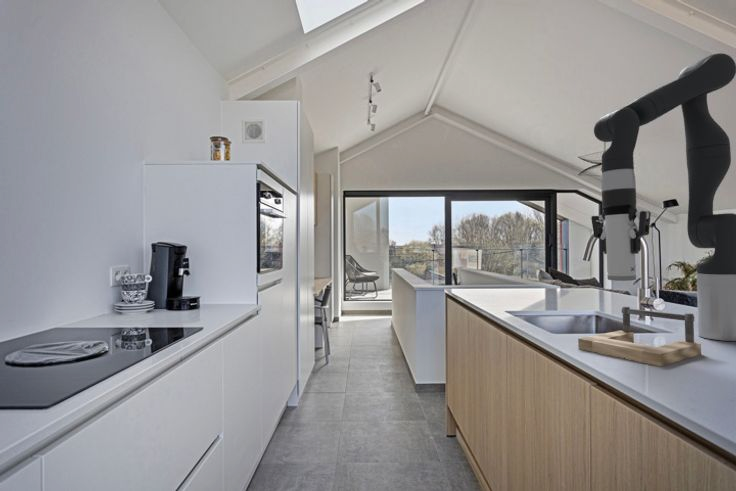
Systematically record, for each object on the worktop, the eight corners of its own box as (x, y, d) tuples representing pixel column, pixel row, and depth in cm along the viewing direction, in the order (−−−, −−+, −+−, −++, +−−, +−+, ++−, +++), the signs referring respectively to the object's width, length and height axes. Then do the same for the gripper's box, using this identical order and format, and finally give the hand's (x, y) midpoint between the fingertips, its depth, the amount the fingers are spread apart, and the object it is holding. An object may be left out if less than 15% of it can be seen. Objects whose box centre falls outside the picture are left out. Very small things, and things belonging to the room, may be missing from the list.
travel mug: (642, 280, 100) (638, 200, 101) (612, 280, 102) (609, 201, 102) (631, 278, 107) (628, 202, 107) (604, 279, 108) (600, 204, 108)
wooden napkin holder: (620, 339, 108) (619, 306, 109) (702, 354, 93) (700, 314, 93) (578, 348, 99) (577, 312, 100) (660, 366, 84) (659, 322, 84)
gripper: (656, 185, 100) (659, 253, 100) (600, 193, 113) (602, 253, 112) (639, 183, 96) (642, 254, 96) (583, 192, 109) (585, 254, 109)
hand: (620, 253), depth 104 cm, fingers closed on travel mug, 6 cm apart
